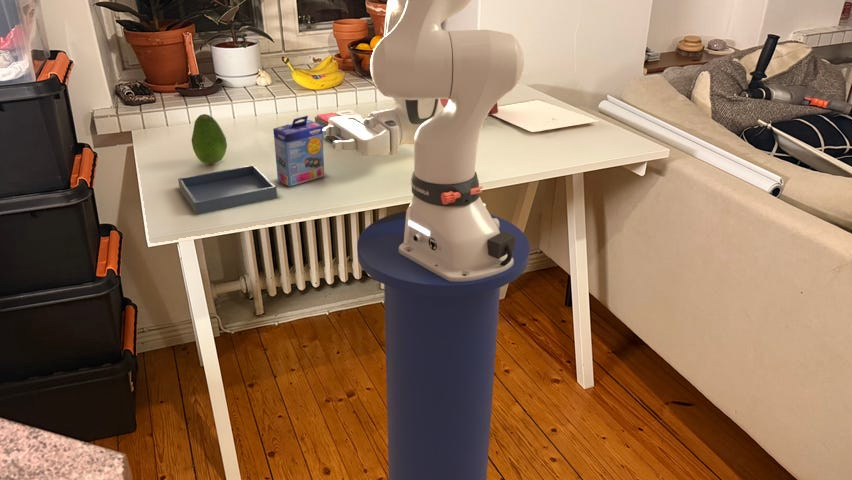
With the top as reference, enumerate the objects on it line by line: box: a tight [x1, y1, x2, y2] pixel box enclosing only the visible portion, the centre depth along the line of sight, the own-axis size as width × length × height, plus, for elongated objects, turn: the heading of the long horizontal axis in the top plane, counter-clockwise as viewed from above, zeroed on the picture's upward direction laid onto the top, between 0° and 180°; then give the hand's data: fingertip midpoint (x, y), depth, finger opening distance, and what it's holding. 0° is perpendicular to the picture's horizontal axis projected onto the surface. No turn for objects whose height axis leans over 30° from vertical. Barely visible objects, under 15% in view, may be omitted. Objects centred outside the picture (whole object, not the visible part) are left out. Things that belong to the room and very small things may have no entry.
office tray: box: [177, 164, 278, 215], centre depth 150 cm, size 15×17×2 cm
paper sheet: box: [488, 99, 599, 133], centre depth 194 cm, size 24×29×1 cm
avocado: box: [191, 113, 228, 165], centre depth 164 cm, size 8×8×12 cm
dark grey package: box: [314, 109, 366, 142], centre depth 185 cm, size 11×4×15 cm
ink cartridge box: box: [272, 115, 325, 188], centre depth 153 cm, size 10×6×14 cm, turn 130°
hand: (325, 140), depth 156 cm, fingers open, 8 cm apart
